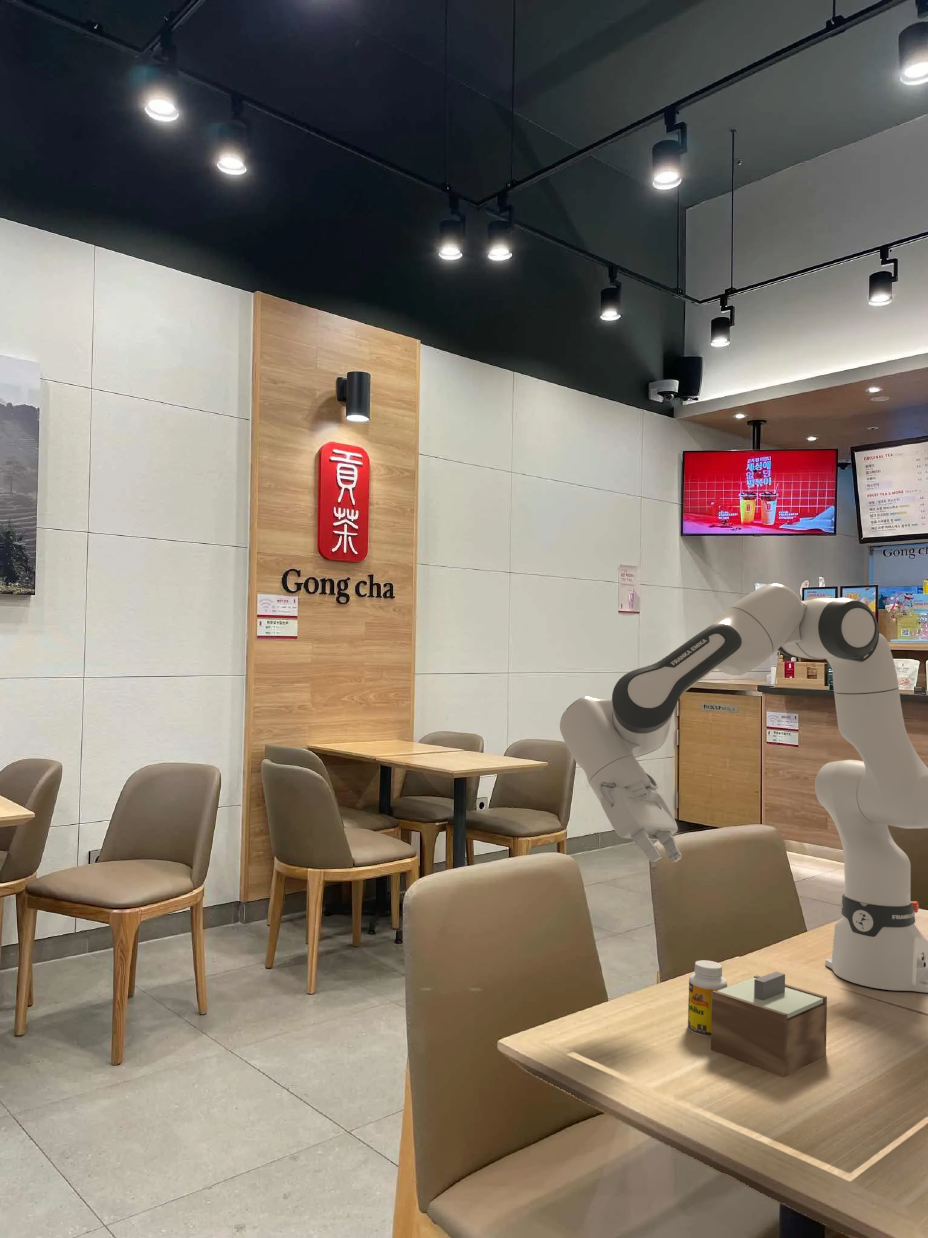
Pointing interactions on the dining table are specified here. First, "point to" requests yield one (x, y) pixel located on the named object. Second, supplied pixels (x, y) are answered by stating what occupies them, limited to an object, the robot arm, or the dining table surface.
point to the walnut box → (768, 1033)
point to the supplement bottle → (703, 995)
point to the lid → (773, 994)
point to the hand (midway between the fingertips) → (667, 860)
